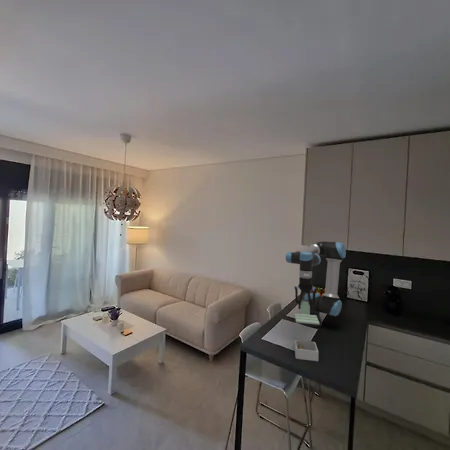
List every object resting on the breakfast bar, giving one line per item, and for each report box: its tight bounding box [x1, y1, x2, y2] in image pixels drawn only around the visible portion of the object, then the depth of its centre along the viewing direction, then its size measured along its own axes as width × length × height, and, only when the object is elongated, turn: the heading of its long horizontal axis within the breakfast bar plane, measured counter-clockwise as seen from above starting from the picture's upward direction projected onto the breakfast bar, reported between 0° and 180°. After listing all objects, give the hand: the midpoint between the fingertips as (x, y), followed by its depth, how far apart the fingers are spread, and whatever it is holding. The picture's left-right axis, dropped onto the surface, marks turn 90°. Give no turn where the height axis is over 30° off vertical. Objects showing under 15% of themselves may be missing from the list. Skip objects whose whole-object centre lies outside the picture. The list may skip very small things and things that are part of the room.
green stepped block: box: [294, 299, 320, 325], centre depth 151 cm, size 18×13×8 cm
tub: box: [294, 339, 319, 362], centre depth 147 cm, size 12×12×6 cm
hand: (304, 314), depth 158 cm, fingers closed on green stepped block, 4 cm apart
